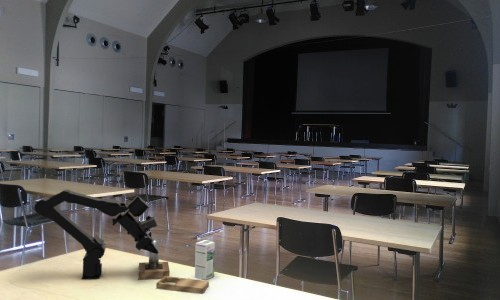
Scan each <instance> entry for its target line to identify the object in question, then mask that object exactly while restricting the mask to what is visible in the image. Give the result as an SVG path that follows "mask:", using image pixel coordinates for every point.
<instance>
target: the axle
mask: <svg viewBox="0 0 500 300" xmlns="http://www.w3.org/2000/svg"><path fill="white" fill-rule="evenodd" d="M160 242H161V241H160V238H152V243H153V245H154V246H155V248H156V249H157V250H158V253H157V254H155V253H152V252H149V251H148V262H149V266H148V269H149V270H155V269H158V266H159V262H160V261H159V260H160V259H159V258H160Z"/></svg>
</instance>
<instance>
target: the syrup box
mask: <svg viewBox="0 0 500 300" xmlns="http://www.w3.org/2000/svg"><path fill="white" fill-rule="evenodd" d="M194 248H195V252H194V254H195V255H194V256H195V257H194V259H195V260H194V262H195V263H194V278H197V279H198V280H204V281H208V279H211V278H213V277H215V256H216V255H215V252H216V251H215V249H216V242H215V241H214V240H208V239H203V240H201V241H197V242H195V247H194Z"/></svg>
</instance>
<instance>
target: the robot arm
mask: <svg viewBox="0 0 500 300" xmlns="http://www.w3.org/2000/svg"><path fill="white" fill-rule="evenodd" d="M64 202H68V203H73V204H76V205H79V206H85V207H87V208H91V209H94V210H95V209H96V210H97V211H99V212H100V213H102V214H105V215H106V216H109V217H112V219H111V220H112V223H111V224H112V226H115V225H116V224H118V225H119V226H120V227H121V228H122V229H123V230H125V231H126V234H127V235H129V236H130V237H131V238H133V240H134V242H135V248H136V249H137V250H138V251H141V250H144V251H147V252H148V253H149V252H152V253H155V254H157V253H158V250H157V249H156V248H155V246H154V245H153V243H152V239H153V238H152V231H151V229H152V228H157V227H158V223H157V221H156V217H155V216H151V215H147V216H146V217H145V220H144V221H140V220H137V219H136V218H137V217H138V218H140V217H142V215H143V214H144V213H146V212H147V211H148V210H149V209H150V208H151V207H150V205H149V204H148V203H147V202H146V201H145V200H144V199H142V198H141V197H140V196H139V195H136V197H134V199H133V200H132V201H131V202H129V203H125V202H121V201H119V200H118V199H112V198H98V197H94V196H92V195H86V194H84V193H79V192H76V191H72V190H70V189H67V188H66V189H63V190H62V191H61V192H59V193H56V194H53V195H52V196H50V197H49V196H45V197H42V198H41V199H39V200H38V201H36V202H35V204H34V211H35V213H36V214H38V215H40V216H41V217H43V218H44V219H48V220H50V221H53V222H54V223H55V224H56V225H58V226H59V227H60V228H61V229H62V230H64V231H65V233H67V234H68V235H70V236H71V237H72V238H73V239H75V241H76V242H78V243H79V244H80V245H82V247H83V249H84V251H85V254H84V256H83V258H82V261H83V262H82V276H81V280H93V279H100V278H101V276H102V274H103V263H102V262H101V258H103V257H104V255H105V252H106V249H107V247H106V244H105V240H104V239H102V238H101V237H100V236H98V234H95V236H92V235H89V234H88V233H87V232H86V231H85V230H83V229H82V228H81V227H80V226H79V225H77V224H76V223H75V222H74V221H73V220H71V219H70V218H69V217H68V216H66V215H65V213H63V212H62V210H61V208H60V207H59V205H60V204H62V203H64Z"/></svg>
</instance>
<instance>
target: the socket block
mask: <svg viewBox="0 0 500 300" xmlns="http://www.w3.org/2000/svg"><path fill="white" fill-rule="evenodd" d="M148 266H149V261H147V262H138V274H137V275H138V277H137V278H138V280H140V281H141V280H142V281H143V280H144V281H145V280H161V279H162V278H163V277H164V276H169V277H170V273H171V272H170V265H169V261H159V266H158V269H155V270H149V269H148Z"/></svg>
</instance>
